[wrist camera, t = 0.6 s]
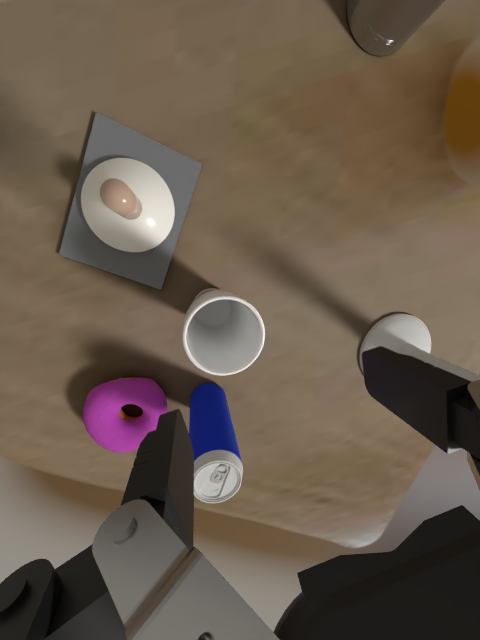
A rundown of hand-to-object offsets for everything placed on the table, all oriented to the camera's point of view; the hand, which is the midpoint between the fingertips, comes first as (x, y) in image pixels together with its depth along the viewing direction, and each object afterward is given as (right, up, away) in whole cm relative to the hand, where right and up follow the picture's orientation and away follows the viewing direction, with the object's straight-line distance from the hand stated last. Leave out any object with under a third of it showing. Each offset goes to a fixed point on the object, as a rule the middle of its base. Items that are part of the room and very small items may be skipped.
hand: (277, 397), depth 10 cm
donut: (-17, -9, +25) cm, 31 cm away
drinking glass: (-5, +5, +24) cm, 25 cm away
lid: (-14, +16, +19) cm, 29 cm away
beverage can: (-6, -8, +26) cm, 28 cm away
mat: (-15, +17, +19) cm, 29 cm away
